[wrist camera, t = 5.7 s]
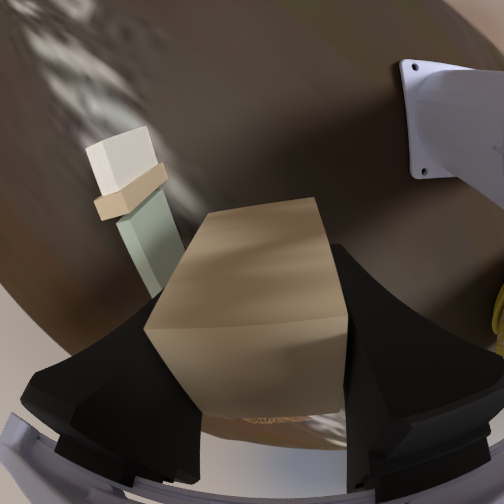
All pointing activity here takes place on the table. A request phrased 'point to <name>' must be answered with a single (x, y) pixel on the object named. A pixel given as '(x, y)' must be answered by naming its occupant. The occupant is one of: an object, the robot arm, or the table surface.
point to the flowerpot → (499, 321)
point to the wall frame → (125, 171)
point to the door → (152, 241)
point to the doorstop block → (256, 315)
